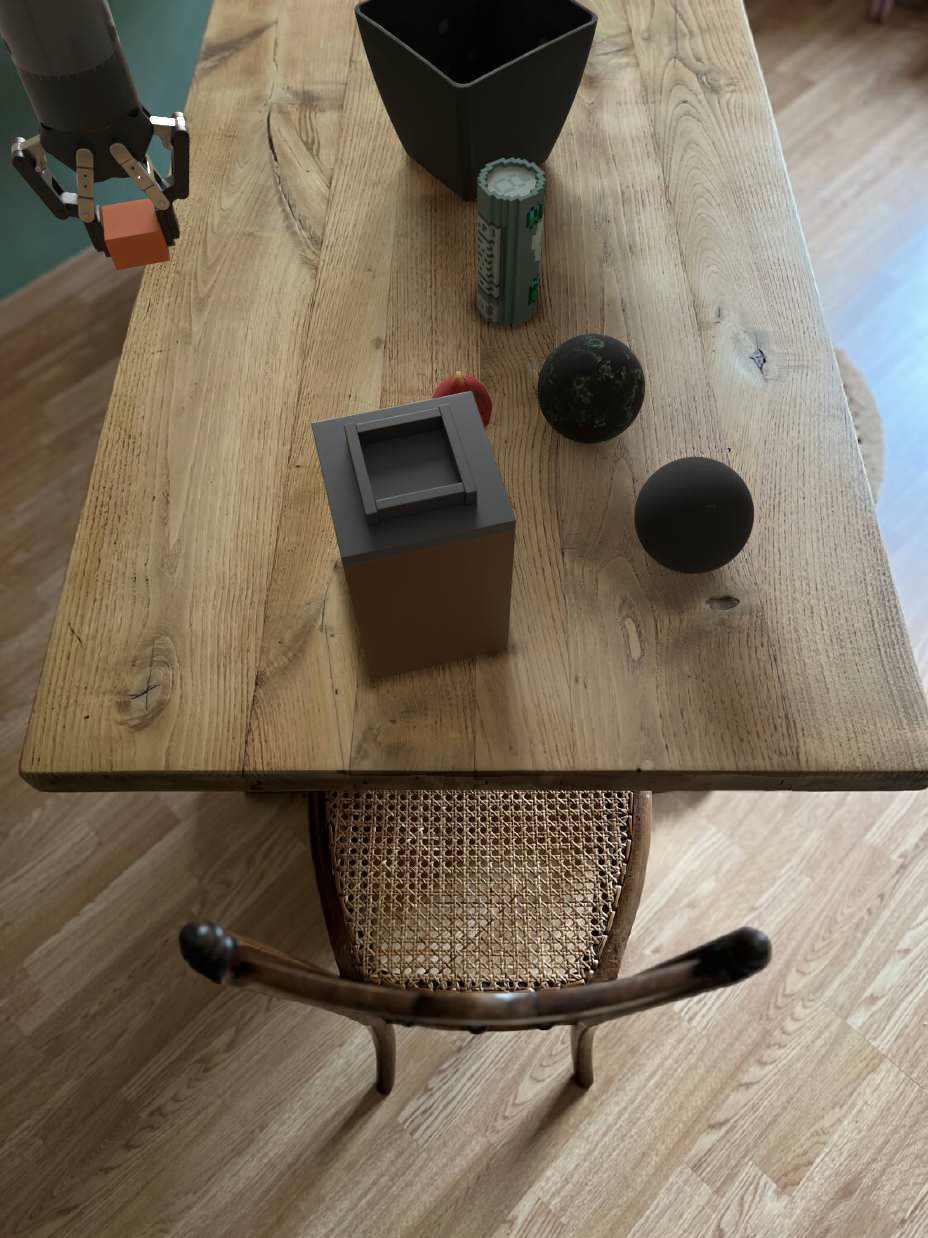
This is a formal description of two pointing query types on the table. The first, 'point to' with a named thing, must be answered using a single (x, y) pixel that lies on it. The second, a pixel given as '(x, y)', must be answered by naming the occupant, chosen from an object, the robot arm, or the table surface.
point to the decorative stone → (591, 388)
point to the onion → (467, 384)
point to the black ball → (694, 515)
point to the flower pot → (476, 78)
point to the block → (134, 234)
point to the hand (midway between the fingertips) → (140, 244)
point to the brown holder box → (420, 531)
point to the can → (509, 239)
